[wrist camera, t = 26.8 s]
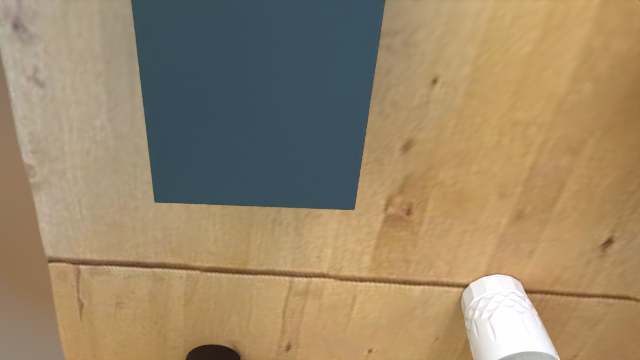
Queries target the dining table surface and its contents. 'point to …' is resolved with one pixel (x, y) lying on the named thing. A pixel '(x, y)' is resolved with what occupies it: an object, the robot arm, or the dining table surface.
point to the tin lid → (257, 99)
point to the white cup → (504, 322)
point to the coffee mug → (212, 353)
